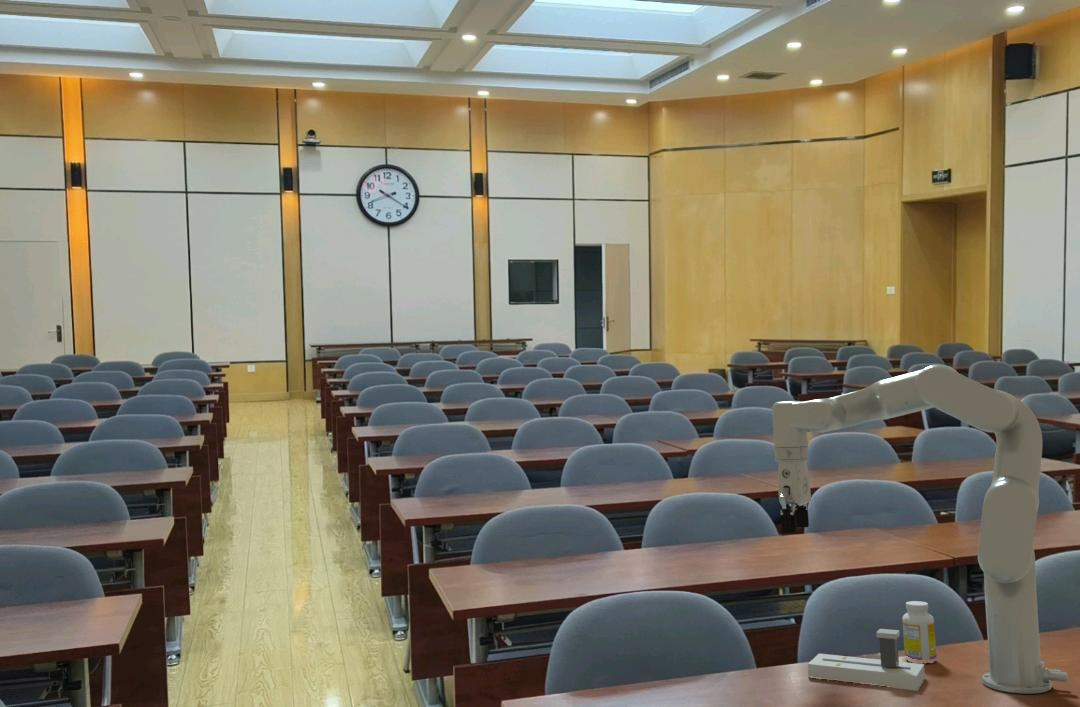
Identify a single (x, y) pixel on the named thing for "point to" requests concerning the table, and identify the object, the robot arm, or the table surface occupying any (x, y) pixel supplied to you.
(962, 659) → the table surface
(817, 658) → the block
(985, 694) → the table surface
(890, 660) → the fader tab
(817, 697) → the table surface
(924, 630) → the supplement bottle
